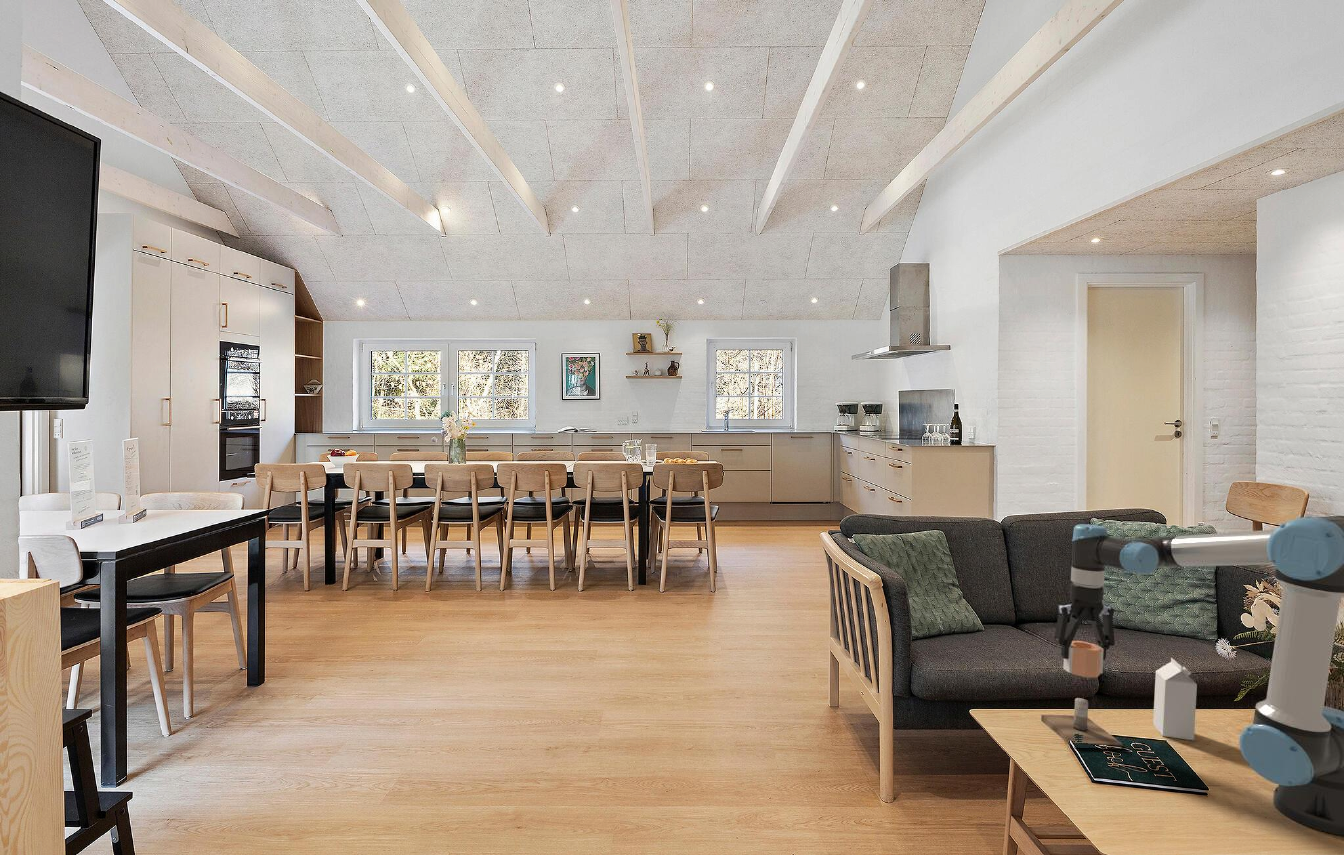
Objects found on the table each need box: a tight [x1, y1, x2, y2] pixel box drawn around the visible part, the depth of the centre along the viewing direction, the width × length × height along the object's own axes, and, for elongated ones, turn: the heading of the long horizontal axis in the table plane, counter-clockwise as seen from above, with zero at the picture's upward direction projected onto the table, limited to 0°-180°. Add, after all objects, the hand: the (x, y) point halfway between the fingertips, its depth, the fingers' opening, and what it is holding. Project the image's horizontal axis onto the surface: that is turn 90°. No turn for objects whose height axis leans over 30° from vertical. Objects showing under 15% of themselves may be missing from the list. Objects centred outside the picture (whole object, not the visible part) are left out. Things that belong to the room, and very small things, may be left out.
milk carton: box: [1152, 657, 1198, 741], centre depth 188 cm, size 7×7×19 cm
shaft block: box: [1040, 697, 1124, 747], centre depth 186 cm, size 16×12×9 cm
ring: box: [1070, 640, 1101, 678], centre depth 186 cm, size 7×7×7 cm
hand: (1082, 670), depth 186 cm, fingers closed on ring, 7 cm apart
